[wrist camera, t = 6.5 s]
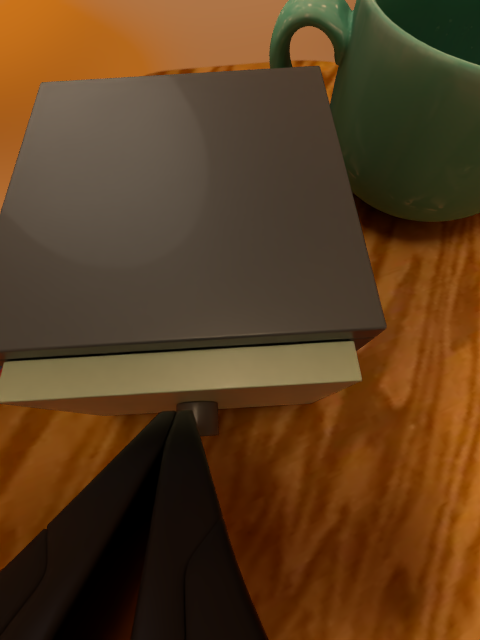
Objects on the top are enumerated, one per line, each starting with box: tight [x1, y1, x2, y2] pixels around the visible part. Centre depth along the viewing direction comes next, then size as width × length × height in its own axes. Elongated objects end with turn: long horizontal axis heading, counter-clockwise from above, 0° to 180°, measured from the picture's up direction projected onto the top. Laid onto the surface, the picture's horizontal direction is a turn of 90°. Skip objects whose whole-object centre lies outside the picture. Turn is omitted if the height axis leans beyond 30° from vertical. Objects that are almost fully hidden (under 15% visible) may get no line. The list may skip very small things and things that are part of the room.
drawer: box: [0, 341, 362, 436], centre depth 13 cm, size 12×10×7 cm
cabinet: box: [0, 66, 386, 367], centre depth 14 cm, size 12×12×9 cm
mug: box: [269, 0, 480, 222], centre depth 17 cm, size 17×13×10 cm
